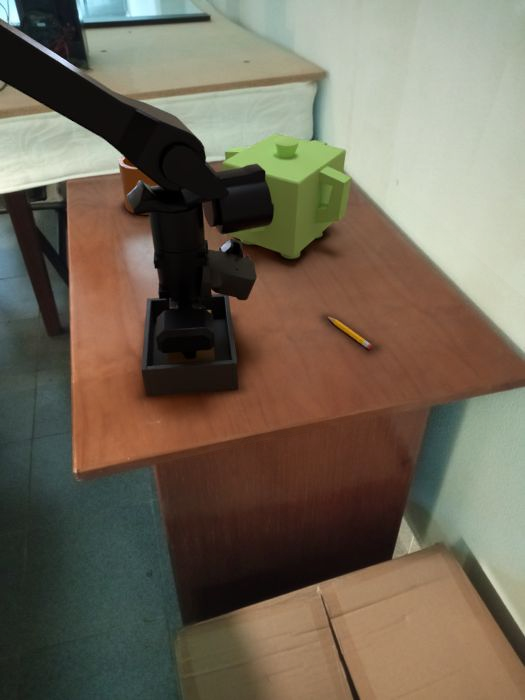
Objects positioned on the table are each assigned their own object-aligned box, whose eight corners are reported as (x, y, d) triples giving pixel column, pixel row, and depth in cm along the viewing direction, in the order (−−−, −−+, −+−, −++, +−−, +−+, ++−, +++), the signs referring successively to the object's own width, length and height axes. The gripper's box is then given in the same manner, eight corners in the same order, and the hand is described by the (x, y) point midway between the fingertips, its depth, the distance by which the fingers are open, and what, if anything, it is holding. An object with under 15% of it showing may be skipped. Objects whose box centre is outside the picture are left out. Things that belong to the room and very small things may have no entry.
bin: (146, 396, 60) (141, 370, 57) (151, 323, 71) (146, 298, 68) (238, 389, 61) (237, 362, 58) (229, 318, 72) (228, 293, 69)
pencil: (368, 350, 67) (368, 346, 67) (325, 319, 72) (325, 315, 72) (372, 348, 68) (372, 344, 67) (329, 317, 73) (329, 313, 72)
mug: (186, 214, 96) (182, 168, 90) (123, 216, 95) (115, 170, 89) (187, 194, 102) (183, 150, 96) (128, 196, 101) (120, 151, 95)
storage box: (266, 196, 102) (267, 107, 91) (367, 225, 93) (383, 131, 82) (190, 248, 86) (180, 148, 75) (303, 289, 78) (312, 184, 66)
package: (168, 364, 64) (163, 334, 60) (168, 341, 67) (164, 312, 64) (214, 361, 64) (212, 331, 61) (212, 338, 68) (210, 309, 64)
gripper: (261, 283, 49) (259, 392, 59) (243, 199, 62) (244, 300, 73) (147, 290, 47) (165, 400, 58) (153, 203, 61) (167, 304, 72)
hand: (190, 345), depth 65 cm, fingers closed on package, 4 cm apart
